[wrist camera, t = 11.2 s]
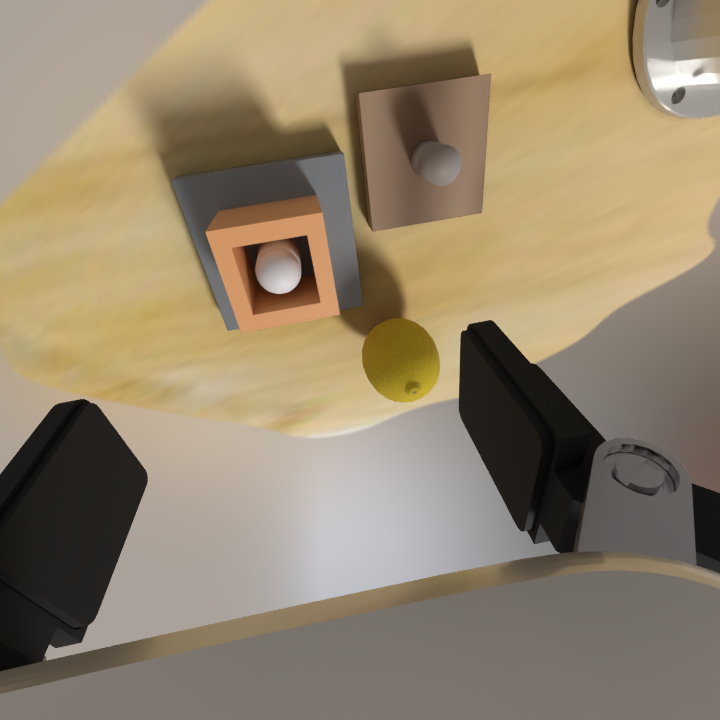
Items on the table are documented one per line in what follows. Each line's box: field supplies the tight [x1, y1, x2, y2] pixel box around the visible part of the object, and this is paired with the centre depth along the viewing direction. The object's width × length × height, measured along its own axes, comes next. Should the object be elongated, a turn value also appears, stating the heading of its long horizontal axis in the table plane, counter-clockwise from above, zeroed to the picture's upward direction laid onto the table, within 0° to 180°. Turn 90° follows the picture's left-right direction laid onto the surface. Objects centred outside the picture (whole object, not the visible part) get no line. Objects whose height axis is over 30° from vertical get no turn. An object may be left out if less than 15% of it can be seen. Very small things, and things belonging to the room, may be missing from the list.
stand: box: [355, 74, 491, 231], centre depth 22 cm, size 8×8×4 cm
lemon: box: [362, 318, 440, 402], centre depth 28 cm, size 6×6×8 cm
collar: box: [205, 195, 340, 333], centre depth 23 cm, size 6×6×4 cm
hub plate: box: [171, 151, 363, 331], centre depth 23 cm, size 10×10×6 cm
